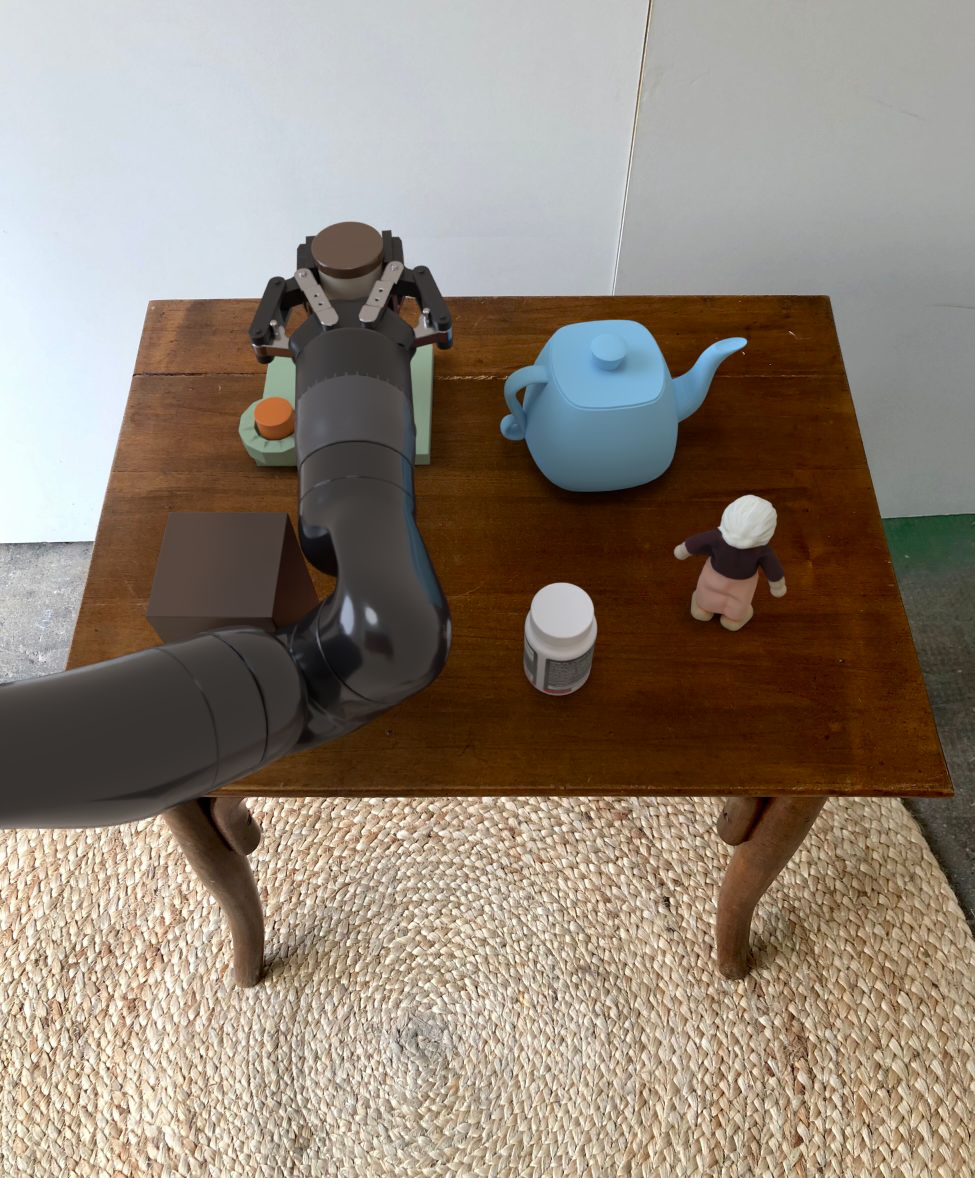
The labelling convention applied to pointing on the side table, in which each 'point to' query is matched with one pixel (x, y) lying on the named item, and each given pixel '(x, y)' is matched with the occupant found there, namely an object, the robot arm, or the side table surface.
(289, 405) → the tare button
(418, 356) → the scale
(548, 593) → the pill bottle
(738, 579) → the grandmother figurine
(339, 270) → the spice jar
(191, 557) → the stand
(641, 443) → the teapot
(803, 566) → the side table surface
